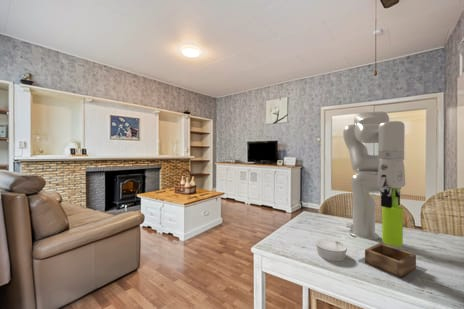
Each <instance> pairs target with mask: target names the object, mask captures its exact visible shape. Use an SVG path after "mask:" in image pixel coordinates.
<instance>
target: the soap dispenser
mask: <svg viewBox="0 0 464 309" xmlns="http://www.w3.org/2000/svg"><path fill="white" fill-rule="evenodd" d="M395 190H396V191H397V190H398V188H395V189H393V188H392V191H391V196H392V208H388V207H383V206H381V207H382V208H381V210H382V212H381V214H382V215H381V217H382V218H381V219H382V220H381V222H382V224H381V227H382V228H381V236H382V237H381V239H382V240H381V241H382V243H383V244H385V245H388V246H391V247H402V246H403V244H404V243H403V239H404V237H403V236H404V235H403V234H404V233H403V232H404V231H403V230H404V229H403V227H404V225H403V223H404V218H403V215H404V214H403V213H404V211H403V210H404V208H403V207H402V206H400V205H399V206H398V197H396V196H395Z"/></svg>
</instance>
